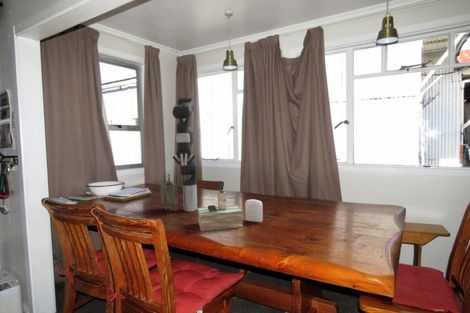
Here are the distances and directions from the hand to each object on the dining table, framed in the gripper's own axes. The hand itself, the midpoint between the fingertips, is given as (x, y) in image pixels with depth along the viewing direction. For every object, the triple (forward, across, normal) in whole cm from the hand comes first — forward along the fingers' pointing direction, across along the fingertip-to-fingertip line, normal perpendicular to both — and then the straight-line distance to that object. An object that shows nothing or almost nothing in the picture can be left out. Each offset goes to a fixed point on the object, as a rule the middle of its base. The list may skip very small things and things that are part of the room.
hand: (184, 172), depth 160 cm
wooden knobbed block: (+20, -20, +10) cm, 30 cm away
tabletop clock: (+29, +10, -34) cm, 46 cm away
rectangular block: (+29, -18, +10) cm, 36 cm away
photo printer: (+29, -38, +8) cm, 49 cm away
